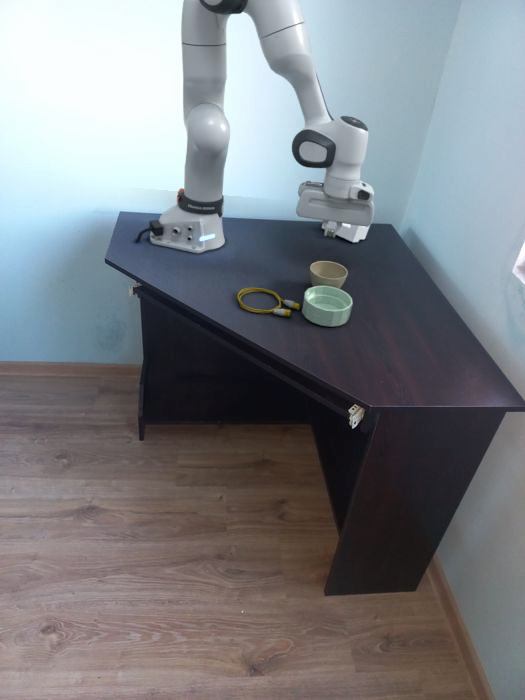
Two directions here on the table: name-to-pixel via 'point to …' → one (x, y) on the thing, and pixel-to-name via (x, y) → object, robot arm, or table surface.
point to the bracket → (349, 231)
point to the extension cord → (275, 311)
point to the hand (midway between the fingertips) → (329, 235)
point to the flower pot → (327, 274)
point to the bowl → (327, 306)
